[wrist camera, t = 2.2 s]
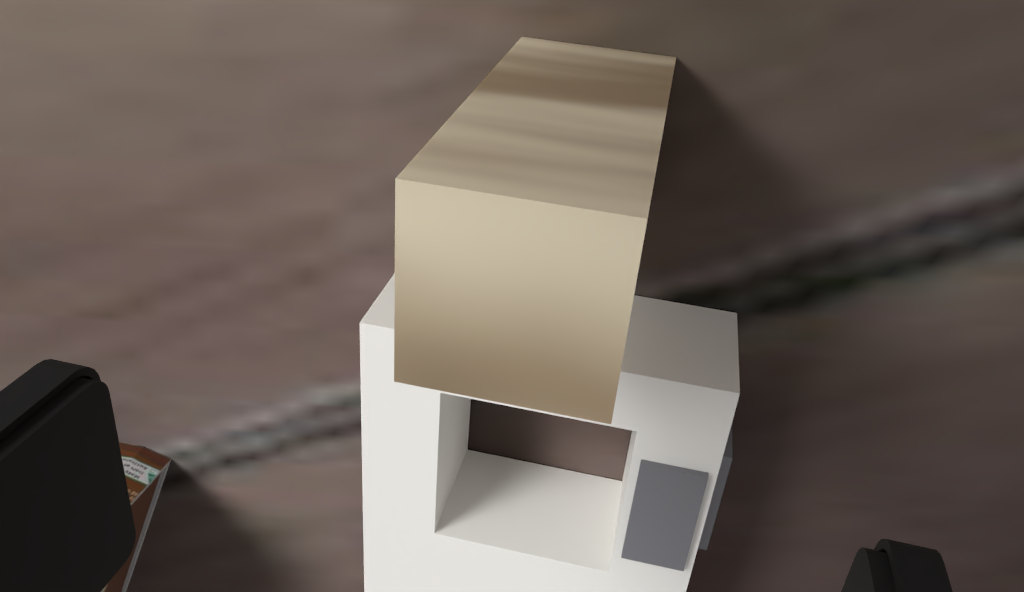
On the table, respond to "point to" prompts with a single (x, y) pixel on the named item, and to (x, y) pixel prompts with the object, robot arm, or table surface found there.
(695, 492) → the socket block
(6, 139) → the table surface
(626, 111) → the plug
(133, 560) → the food container
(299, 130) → the table surface
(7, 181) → the table surface
